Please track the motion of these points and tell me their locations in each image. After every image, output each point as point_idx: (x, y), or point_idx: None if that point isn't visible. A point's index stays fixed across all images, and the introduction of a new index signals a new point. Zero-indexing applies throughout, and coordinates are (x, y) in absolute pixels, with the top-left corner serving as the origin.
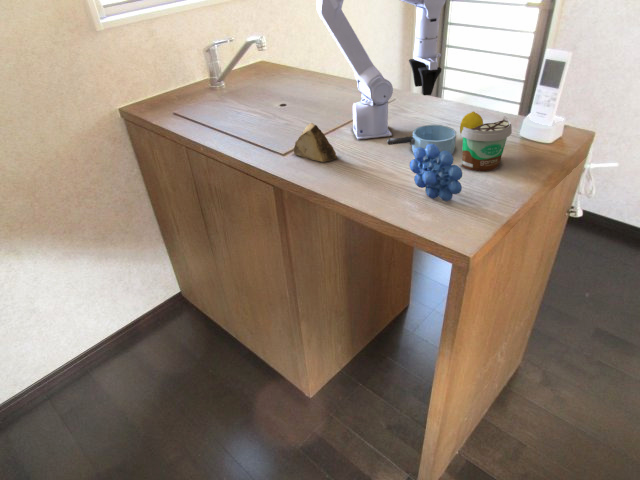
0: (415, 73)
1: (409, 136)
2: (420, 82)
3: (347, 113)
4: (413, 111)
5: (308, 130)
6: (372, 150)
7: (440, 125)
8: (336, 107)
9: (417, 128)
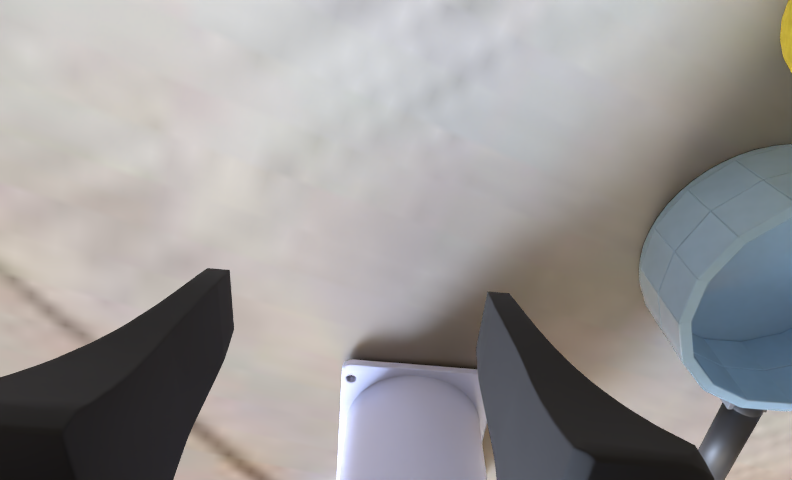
0: (180, 430)
1: (743, 418)
2: (218, 313)
3: None
4: (147, 143)
5: None
6: None
7: (747, 238)
8: None
9: (697, 368)
